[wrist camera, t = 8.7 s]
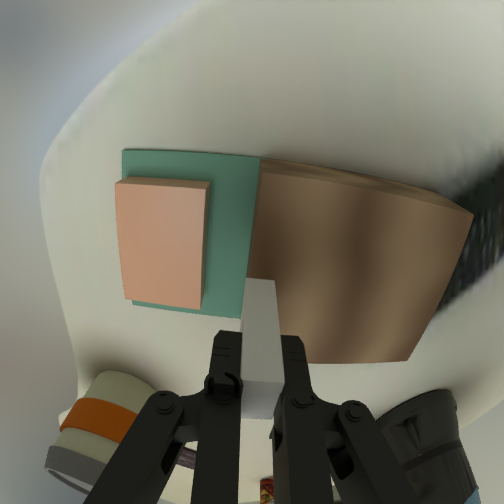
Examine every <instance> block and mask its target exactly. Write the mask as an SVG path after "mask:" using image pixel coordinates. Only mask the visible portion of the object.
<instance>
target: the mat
mask: <svg viewBox="0 0 504 504" xmlns="http://www.w3.org/2000/svg"><path fill="white" fill-rule="evenodd" d="M261 159H266V158H258V157H249V156H239V155H228V154H217V153H203V152H187V151H165V150H122V179H123V178H125V177H127V176H132V177H152V178H168V179H182V180H195V181H207V182H210V195H209V209H208V224H207V241H206V260H205V284H204V297H203V301H202V305H201V309H200V310H197V309H190V308H182V307H175V306H168V305H161V304H155V303H148V302H142V301H136V300H132V303H133V305H138V306H145V307H151V308H158V309H165V310H172V311H179V312H187V313H194V314H203V315H211V316H220V317H229V318H239V319H241V314H242V306H243V298H244V289H245V281H246V273H247V265H248V257H249V249H250V241H251V233H252V224H253V216H254V208H255V200H256V192H257V184H258V176H259V168H260V160H261ZM267 160H268V159H267Z"/></svg>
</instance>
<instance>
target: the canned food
mask: <svg viewBox="0 0 504 504" xmlns="http://www.w3.org/2000/svg"><path fill="white" fill-rule="evenodd" d="M260 504H274V480H273V476H271V477H266V478H263V479H261V480H260Z"/></svg>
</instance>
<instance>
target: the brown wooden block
mask: <svg viewBox="0 0 504 504" xmlns="http://www.w3.org/2000/svg"><path fill="white" fill-rule="evenodd" d="M473 217H474V215H473V214H472V213H470V212H468V211H467V210H465V209H464V208H462V207H460V206H459V205H457V204H455V203H454V202H452V201H450V200H449V199H447V198H445V197H444V196H442V195H440V194H438V193H437V192H433V191H430V190H426V189H422V188H418V187H415V186H411V185H407V184H403V183H399V182H395V181H390V180H386V179H382V178H377V177H373V176H368V175H363V174H358V173H353V172H348V171H343V170H338V169H332V168H327V167H321V166H315V165H309V164H302V163H296V162H289V161H282V160H274V159H268V160H267V159H261V160H260V168H259V176H258V184H257V192H256V200H255V208H254V216H253V224H252V233H251V241H250V249H249V257H248V265H247V273H246V278H254V279H264V280H275V289H276V298H277V307H278V317H279V327H280V335H293V336H299V338H300V339H301V340H302V342H303V343H304V346H305V352H306V358H307V363H313V364H352V363H381V362H398V361H407V360H408V358H409V357H410V355H411V354H412V352H413V350H414V349H415V347H416V345H417V343H418V342H419V340H420V338H421V337H422V335H423V333H424V331H425V329H426V327H427V326H428V324H429V322H430V320H431V318H432V316H433V314H434V312H435V310H436V308H437V306H438V304H439V302H440V300H441V298H442V296H443V294H444V292H445V290H446V287H447V285H448V283H449V281H450V278H451V276H452V274H453V271H454V269H455V267H456V264H457V262H458V259H459V257H460V254H461V252H462V249H463V246H464V243H465V241H466V238H467V235H468V232H469V229H470V226H471V223H472V220H473Z"/></svg>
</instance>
